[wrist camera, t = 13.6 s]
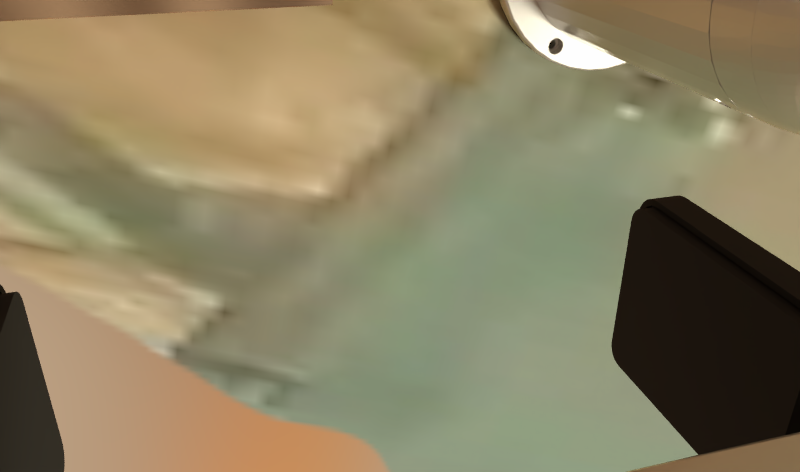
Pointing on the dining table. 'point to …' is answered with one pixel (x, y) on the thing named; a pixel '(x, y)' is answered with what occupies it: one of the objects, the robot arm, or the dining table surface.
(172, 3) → the panel
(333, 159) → the dining table surface
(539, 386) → the dining table surface
